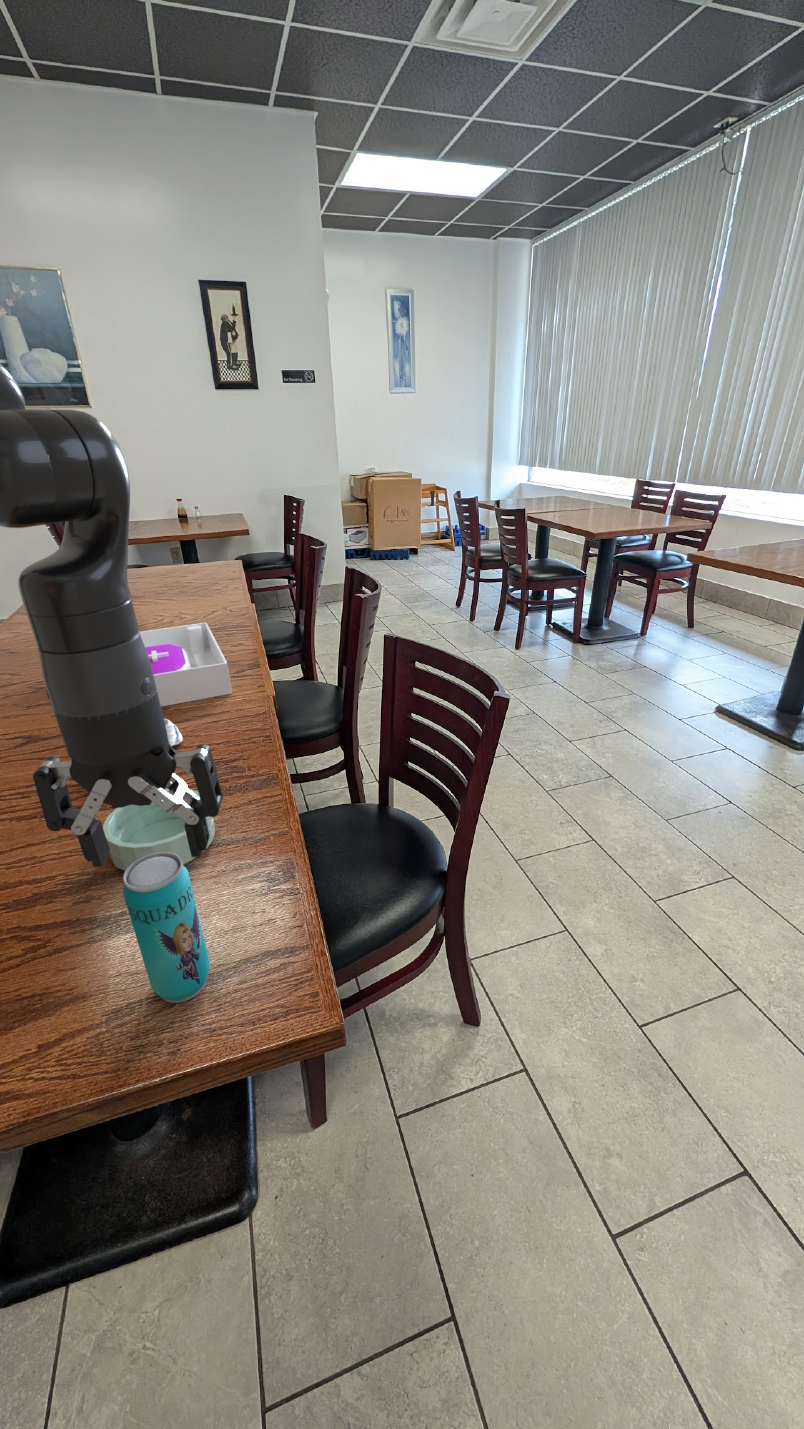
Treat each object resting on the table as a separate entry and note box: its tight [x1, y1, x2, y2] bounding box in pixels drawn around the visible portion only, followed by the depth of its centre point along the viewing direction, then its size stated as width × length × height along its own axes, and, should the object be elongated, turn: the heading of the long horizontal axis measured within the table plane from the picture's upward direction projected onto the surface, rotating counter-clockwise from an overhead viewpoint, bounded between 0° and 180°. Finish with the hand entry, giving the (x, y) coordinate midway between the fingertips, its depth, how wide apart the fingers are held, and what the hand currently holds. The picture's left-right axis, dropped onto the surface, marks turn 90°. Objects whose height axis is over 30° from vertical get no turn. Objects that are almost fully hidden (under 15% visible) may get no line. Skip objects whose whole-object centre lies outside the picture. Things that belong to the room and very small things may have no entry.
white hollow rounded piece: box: [164, 718, 184, 748], centre depth 107 cm, size 8×7×5 cm
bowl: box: [102, 788, 216, 872], centre depth 80 cm, size 14×14×5 cm
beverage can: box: [122, 852, 211, 1004], centre depth 57 cm, size 6×6×15 cm
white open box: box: [139, 622, 233, 708], centre depth 138 cm, size 22×35×7 cm, turn 24°
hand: (150, 856), depth 53 cm, fingers open, 8 cm apart
